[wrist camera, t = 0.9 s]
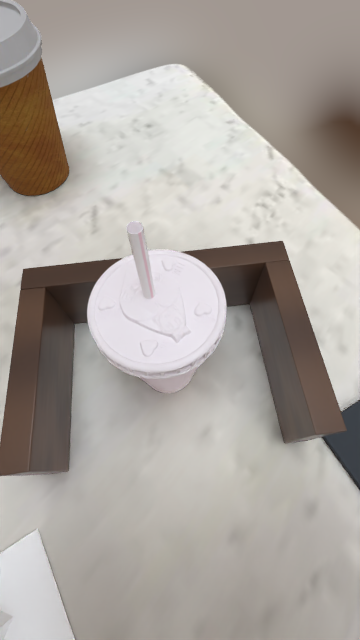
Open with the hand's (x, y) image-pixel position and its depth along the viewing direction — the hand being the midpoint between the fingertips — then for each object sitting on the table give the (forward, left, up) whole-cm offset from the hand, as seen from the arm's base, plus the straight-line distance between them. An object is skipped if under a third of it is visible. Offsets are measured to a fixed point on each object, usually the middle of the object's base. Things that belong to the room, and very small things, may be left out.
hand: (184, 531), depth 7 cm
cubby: (+8, +2, -13) cm, 15 cm away
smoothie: (+8, +2, -13) cm, 15 cm away
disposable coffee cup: (+28, +17, -13) cm, 35 cm away
